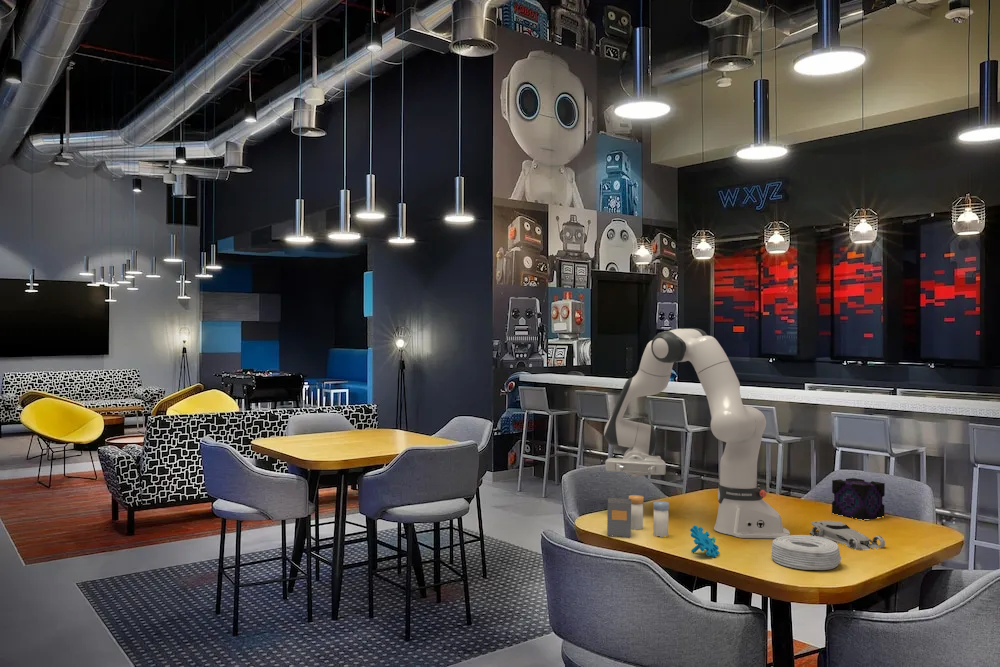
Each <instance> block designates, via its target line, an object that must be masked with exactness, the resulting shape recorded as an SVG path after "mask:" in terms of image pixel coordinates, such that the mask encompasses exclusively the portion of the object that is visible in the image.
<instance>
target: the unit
mask: <svg viewBox="0 0 1000 667" xmlns="http://www.w3.org/2000/svg"><path fill="white" fill-rule="evenodd" d="M606 519H607V522H606V524H607V525H606V527H607V528H606V529H607V530H606V536H607V535H610V536H609V537H614V536H622V537H621V538H630V537H631V538H632V529H631V499H629V498H619V497H618V498H617V497H608V500H607V517H606ZM612 535H613V536H612Z"/></svg>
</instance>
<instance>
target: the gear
mask: <svg viewBox="0 0 1000 667" xmlns="http://www.w3.org/2000/svg"><path fill="white" fill-rule="evenodd" d="M689 531H690V532H691V533H690V537H691V538H693V539H694V540H693V542H694V544H695V546H694V547H693V548H692V549H690V550H691V553H692V552H693V553H692V554H694V552H695V553H696V552H697V551H698V550H700V551H701V552H704V551H706V552H705V555H706V556H707V557H710V556H711V557H712V558H714V557H715V558H717V557H718V555H719V554H720V551H719V545H717V544H715V543H716V540H717V539H716V537H715V536H713V537H709V536H711V535H710V533H709V532H708V531H707V530H706V531H705V532H703V531H704V528H703V527H701V526H699V527H698V525H693V526H692V527H691V528H690V529H689Z"/></svg>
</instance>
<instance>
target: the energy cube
mask: <svg viewBox="0 0 1000 667" xmlns="http://www.w3.org/2000/svg"><path fill="white" fill-rule="evenodd" d="M831 481H832V482H831V484H832V485H831V486H832V488H831V489H832V490H831V493H832V494H833V501H832V502H831V514H832V513H834V514H838V515H843V516H844V517H849V516H850V517H853V518H857V519H862V520H864V519H871V520H872V519H875V518H877V517H882V516H884V517H885V505H884V504H883V497H885V495H886V494H885V490H886V488H885V484H886V483H885V482H878V481H874V480H873V481H865V479H862V478H857V477H856V478H855V477H849V478H845V480H843V479H832V480H831ZM838 515H837V516H838ZM850 517H849V518H850ZM874 517H875V518H874Z"/></svg>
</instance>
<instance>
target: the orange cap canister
mask: <svg viewBox="0 0 1000 667" xmlns="http://www.w3.org/2000/svg"><path fill="white" fill-rule="evenodd" d="M644 498H645V497H644V495H639V494H637V495H636V494H631V495H628V499H631V530H633V529H641V530H643V529H644V528H643V527H644V502H645V500H644ZM642 528H643V529H642Z"/></svg>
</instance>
